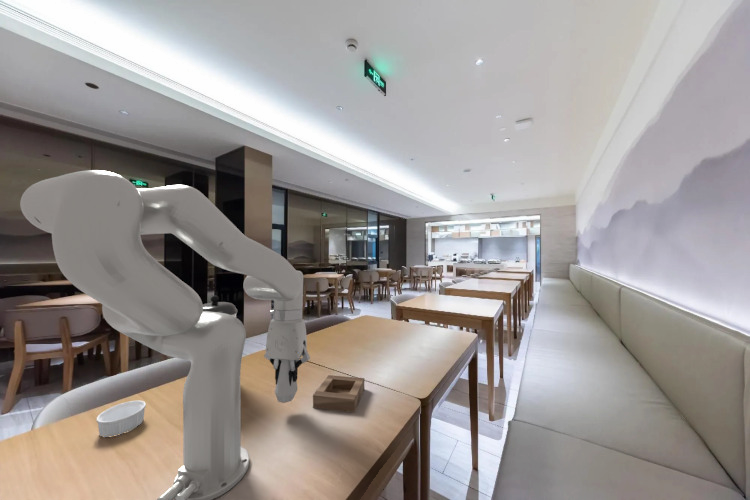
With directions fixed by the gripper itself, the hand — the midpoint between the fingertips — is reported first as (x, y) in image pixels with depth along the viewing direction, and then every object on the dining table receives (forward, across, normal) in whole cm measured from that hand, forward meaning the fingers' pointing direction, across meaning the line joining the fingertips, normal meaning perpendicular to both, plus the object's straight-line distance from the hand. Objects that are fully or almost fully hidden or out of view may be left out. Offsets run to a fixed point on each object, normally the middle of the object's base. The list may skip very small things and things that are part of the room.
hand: (286, 382), depth 70 cm
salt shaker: (+5, 0, 0) cm, 5 cm away
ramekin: (+10, -38, -12) cm, 41 cm away
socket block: (+8, +12, +10) cm, 17 cm away
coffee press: (+8, -28, +7) cm, 30 cm away
